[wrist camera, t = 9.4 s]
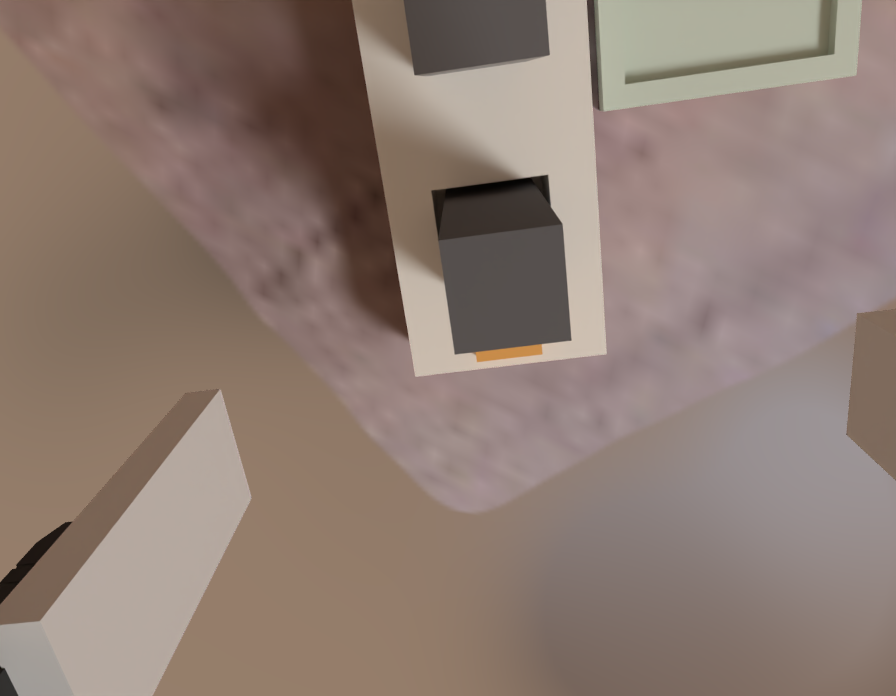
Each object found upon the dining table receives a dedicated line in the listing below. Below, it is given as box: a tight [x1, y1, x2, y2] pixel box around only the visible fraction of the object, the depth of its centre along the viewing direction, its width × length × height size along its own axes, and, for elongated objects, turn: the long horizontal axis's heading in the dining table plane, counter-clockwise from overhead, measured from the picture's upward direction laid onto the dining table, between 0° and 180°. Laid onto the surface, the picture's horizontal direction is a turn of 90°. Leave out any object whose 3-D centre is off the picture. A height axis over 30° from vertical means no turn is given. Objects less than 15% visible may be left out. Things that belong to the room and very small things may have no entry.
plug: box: [438, 178, 572, 355], centre depth 28 cm, size 4×4×11 cm
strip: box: [352, 0, 607, 377], centre depth 26 cm, size 20×9×12 cm, turn 8°
